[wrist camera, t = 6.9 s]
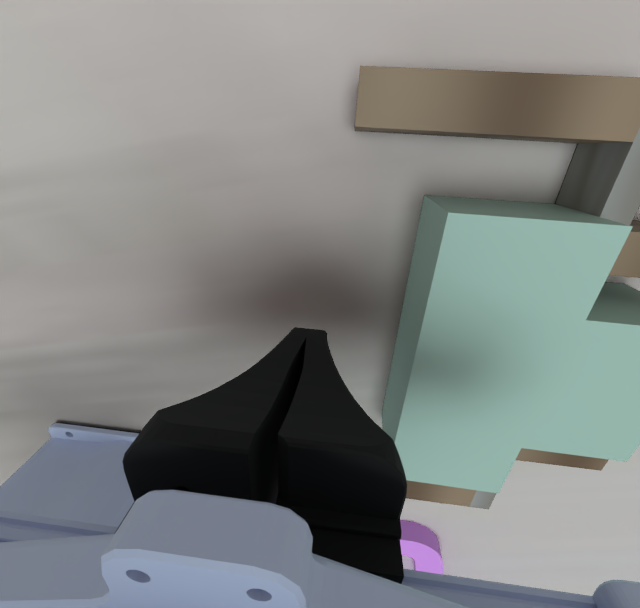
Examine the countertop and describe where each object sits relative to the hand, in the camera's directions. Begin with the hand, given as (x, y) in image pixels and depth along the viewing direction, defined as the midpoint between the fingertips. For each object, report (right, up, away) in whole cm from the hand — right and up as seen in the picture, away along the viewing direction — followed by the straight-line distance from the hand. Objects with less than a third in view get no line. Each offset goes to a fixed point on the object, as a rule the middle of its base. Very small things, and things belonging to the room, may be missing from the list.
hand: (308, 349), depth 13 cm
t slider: (+9, 0, +2) cm, 9 cm away
